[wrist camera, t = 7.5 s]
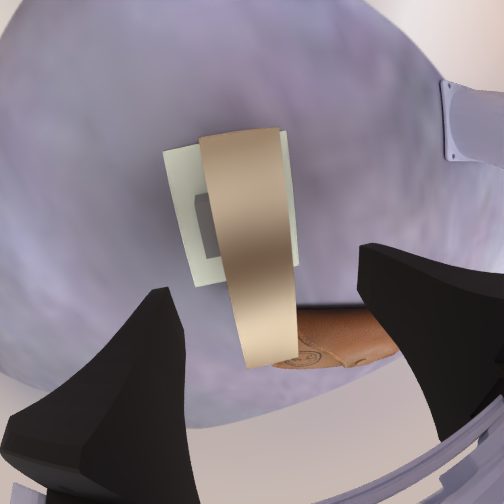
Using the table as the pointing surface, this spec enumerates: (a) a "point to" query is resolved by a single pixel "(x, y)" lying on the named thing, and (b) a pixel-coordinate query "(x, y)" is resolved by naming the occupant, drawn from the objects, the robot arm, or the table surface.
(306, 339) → the sunglasses case
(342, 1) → the table surface
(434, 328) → the robot arm
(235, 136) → the beige piece
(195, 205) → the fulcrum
